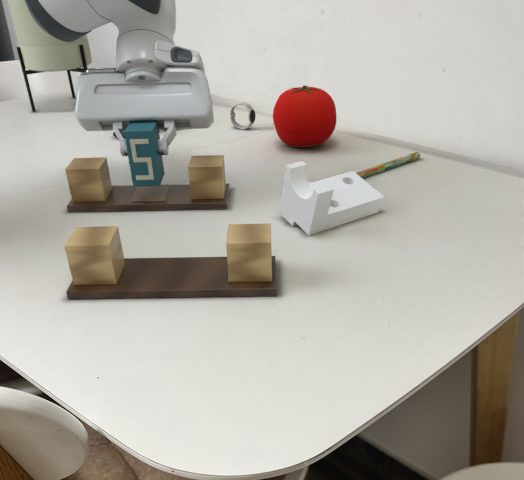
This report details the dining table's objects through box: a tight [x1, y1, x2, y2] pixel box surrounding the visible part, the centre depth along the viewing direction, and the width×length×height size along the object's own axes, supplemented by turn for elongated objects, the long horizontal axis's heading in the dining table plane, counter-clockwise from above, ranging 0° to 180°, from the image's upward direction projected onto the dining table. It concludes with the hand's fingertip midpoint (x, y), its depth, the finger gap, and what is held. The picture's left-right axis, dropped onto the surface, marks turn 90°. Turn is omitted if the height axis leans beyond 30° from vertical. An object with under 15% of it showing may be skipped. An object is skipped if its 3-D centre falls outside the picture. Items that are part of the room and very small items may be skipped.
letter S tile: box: [124, 121, 166, 187], centre depth 84 cm, size 4×5×8 cm
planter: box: [6, 0, 93, 113], centre depth 130 cm, size 15×16×23 cm
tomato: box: [272, 84, 337, 148], centre depth 106 cm, size 12×12×10 cm
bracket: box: [278, 160, 385, 236], centre depth 80 cm, size 13×7×8 cm, turn 124°
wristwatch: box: [229, 101, 256, 130], centre depth 117 cm, size 3×5×5 cm, turn 64°
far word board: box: [64, 154, 231, 213], centre depth 87 cm, size 24×8×6 cm, turn 90°
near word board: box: [63, 223, 277, 300], centre depth 67 cm, size 24×8×6 cm, turn 90°
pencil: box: [355, 151, 421, 179], centre depth 96 cm, size 1×1×18 cm
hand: (144, 154), depth 84 cm, fingers closed on letter S tile, 4 cm apart
